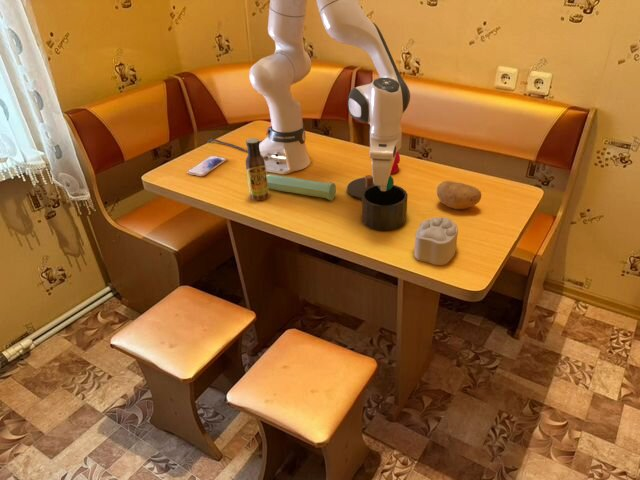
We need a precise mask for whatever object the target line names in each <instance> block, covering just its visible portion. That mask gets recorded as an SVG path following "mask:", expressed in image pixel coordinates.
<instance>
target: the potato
mask: <svg viewBox="0 0 640 480" xmlns="http://www.w3.org/2000/svg"><path fill="white" fill-rule="evenodd" d="M436 187H437V188H436V195H437V197H438V199H439V201H440V202H441V203H442V204H444V205H445V206H447V207H449V208H451V209H453V210H465V209H470V208H472V207H474V206H475V205H477V204H478V203H480V201H481V199H482V192H481V190H479V188H477V187H476V186H473V185H469V184H466V183H462V182H456V181H451V180H444V181H442V182H440V183H439V184H438V186H436Z"/></svg>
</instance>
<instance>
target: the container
mask: <svg viewBox="0 0 640 480" xmlns="http://www.w3.org/2000/svg"><path fill="white" fill-rule="evenodd" d="M266 175H267V184H268V190H273V191H277V192H285V193H291V194H296V195H303V196H309V197H316V198H322V199H327V201H330V202H331V201H333V200H334V198H335V196H336V192H337V185H336V184H335V183H334V182H322V181H317V180H309V179H302V178H298V177H297V178H295V177H291V176H290V177H289V176H284V175H277V174H271V173H270V174H266Z"/></svg>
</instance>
